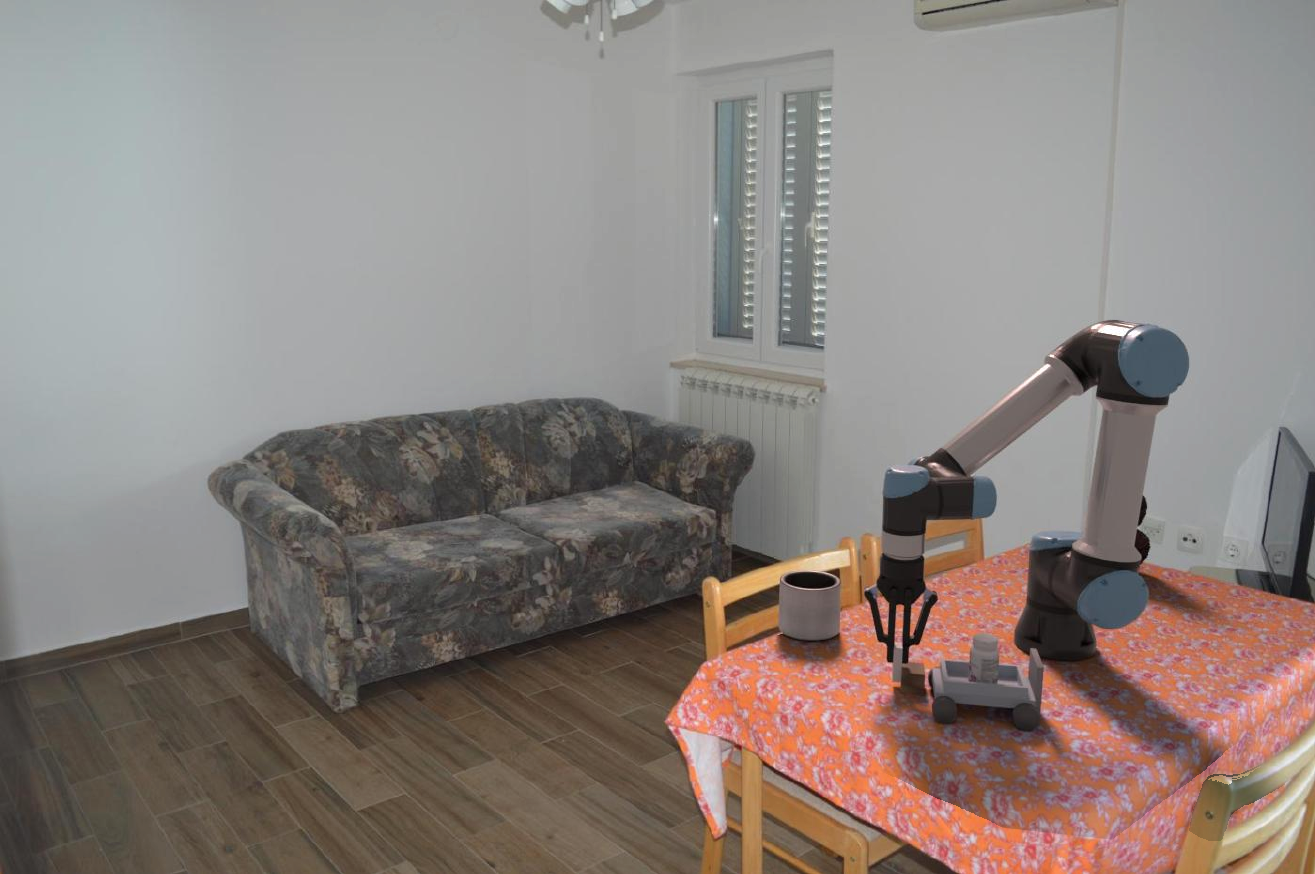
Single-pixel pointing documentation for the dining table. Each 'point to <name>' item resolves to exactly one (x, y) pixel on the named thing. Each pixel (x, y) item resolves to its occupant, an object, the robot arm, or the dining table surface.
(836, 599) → the planter
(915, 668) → the block
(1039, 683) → the trolley
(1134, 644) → the dining table surface
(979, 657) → the pill bottle
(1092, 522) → the robot arm
